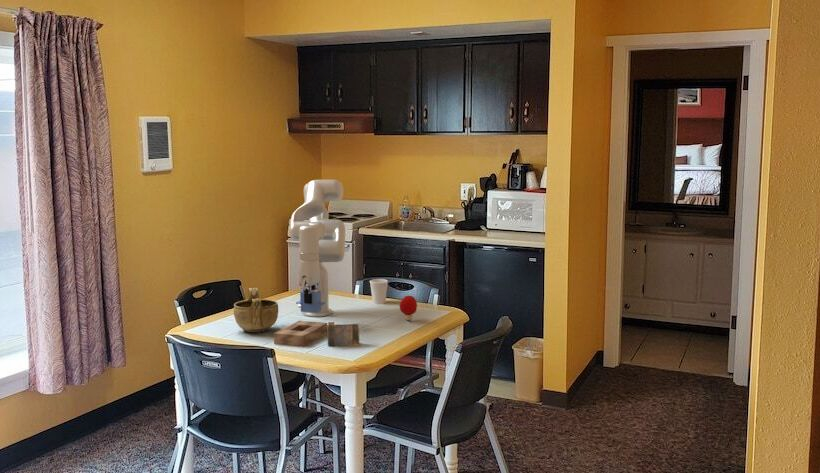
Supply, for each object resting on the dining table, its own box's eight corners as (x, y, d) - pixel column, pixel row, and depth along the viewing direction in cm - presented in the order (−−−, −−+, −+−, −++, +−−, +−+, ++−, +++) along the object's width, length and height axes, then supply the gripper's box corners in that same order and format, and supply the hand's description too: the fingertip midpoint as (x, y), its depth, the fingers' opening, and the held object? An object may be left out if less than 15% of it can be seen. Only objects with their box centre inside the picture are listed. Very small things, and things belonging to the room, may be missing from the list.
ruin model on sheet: (327, 347, 284) (327, 321, 282) (327, 345, 287) (327, 319, 285) (359, 346, 285) (359, 320, 284) (358, 344, 288) (358, 318, 287)
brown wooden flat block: (274, 343, 287) (273, 333, 287) (299, 330, 306) (299, 320, 306) (303, 346, 283) (303, 335, 283) (327, 333, 302) (327, 322, 302)
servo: (296, 311, 311) (295, 290, 310) (301, 308, 315) (300, 287, 313) (321, 313, 308) (320, 292, 306) (325, 310, 311) (325, 289, 310)
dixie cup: (371, 300, 359) (371, 278, 358) (389, 300, 358) (389, 279, 357) (368, 304, 351) (367, 282, 350) (386, 304, 350) (386, 282, 349)
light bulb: (414, 324, 315) (414, 299, 314) (397, 323, 317) (397, 298, 315) (419, 318, 324) (418, 294, 323) (402, 317, 326) (402, 294, 325)
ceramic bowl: (233, 325, 315) (232, 288, 313) (276, 322, 320) (275, 286, 317) (235, 339, 294) (234, 300, 292) (281, 336, 298) (280, 297, 296)
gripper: (310, 251, 316) (311, 296, 320) (290, 260, 301) (292, 306, 304) (327, 253, 314) (328, 297, 317) (308, 261, 298) (309, 308, 302)
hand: (310, 301), depth 311 cm, fingers closed on servo, 4 cm apart
